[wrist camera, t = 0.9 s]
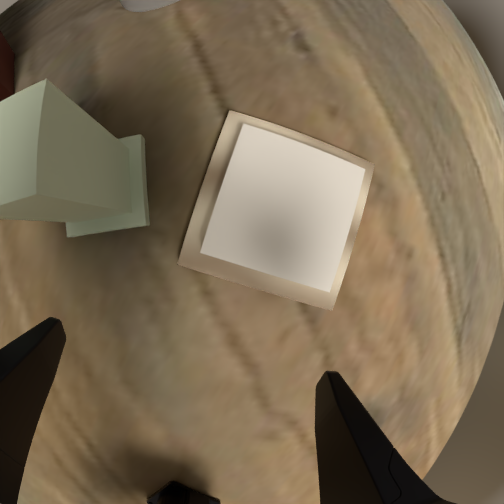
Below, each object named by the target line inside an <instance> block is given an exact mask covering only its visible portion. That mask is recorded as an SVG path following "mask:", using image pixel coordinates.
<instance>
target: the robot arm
mask: <svg viewBox="0 0 504 504" xmlns="http://www.w3.org/2000/svg"><path fill="white" fill-rule="evenodd" d="M65 342H66V334H65V331H64V328H63V325H62V322H61V321H60V320H59V319H56V318H53V317H49V318H47V319H46V320H44V321H43V322H41V323H40V324H38V325H36V326H35V327H33V328H32V329H30V330H29V331H27V332H26V333H24V334H23V335H21V336H20V337H18V338H17V339H15V340H13V341H12V342H10V343H9V344H8V345H6V346H5V347H3V348H2V349H0V504H17V500H18V495H19V490H20V485H21V481H22V477H23V472H24V467H25V464H26V460H27V456H28V453H29V449H30V446H31V443H32V439H33V436H34V433H35V430H36V427H37V424H38V421H39V418H40V415H41V412H42V409H43V406H44V404H45V401H46V398H47V396H48V393H49V391H50V388H51V385H52V383H53V380H54V378H55V375H56V371H57V368H58V365H59V361H60V358H61V355H62V352H63V348H64V345H65ZM315 437H316V449H317V461H318V474H319V489H320V504H456V503H452V502H449V501H446V500H444V499H442V498H440V497H439V496H438V495H436V494H435V493H434V492H433V491H432V490H431V489H430V488H429V487H428V486H427V485H426V484H425V483H424V482H423V481H422V480H421V479H420V477H419V476H418V475H417V474H416V473H415V472H414V471H413V470H412V469H411V468H410V467H409V465H408V464H407V463H406V462H405V460H404V459H403V458H402V457H401V455H400V454H399V453H398V451H397V450H396V449H395V448H393V445H392V444H391V442H390V441H389V440H388V438H387V437H386V436H385V434H384V433H383V432H382V430H381V429H380V427H379V426H378V425H377V423H376V422H375V421H374V419H373V418H372V417H371V415H370V414H369V413H368V411H367V410H366V409H365V407H364V406H363V405H362V403H361V402H360V401H359V399H358V398H357V397H356V395H355V394H354V393H353V391H352V390H351V389H350V387H349V386H348V385H347V383H346V382H345V381H344V379H343V378H342V376H341V375H340V374H339V373H338V372H336V371H326V372H325V373H324V374H323V376H322V377H321V379H320V380H319V382H318V383H317V386H316V399H315ZM147 503H148V504H220V501H218V500H216V499H213V498H211V497H208V496H206V495H203V494H201V493H199V492H196V491H194V490H192V489H190V488H188V487H185V486H183V485H181V484H179V483H177V482H175V481H171V482H169V483H168V484H167V485H165V486H164V487H163V488H162V489H160V490H159V491H158V492H156V493H155V494H154V495H152V496H151V497H149V498H148V499H147Z"/></svg>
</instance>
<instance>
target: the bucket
mask: <svg viewBox="0 0 504 504" xmlns="http://www.w3.org/2000/svg"><path fill="white" fill-rule="evenodd" d="M14 56H15V54H14V52H13V51H12V49H11V47H10V46H9V44H8V43H7V41H6V39H5V38H4V36H3V34H2V33H1V31H0V102H1V101H2V100H4V99H6V98H8V97H10V96H12V95H14Z"/></svg>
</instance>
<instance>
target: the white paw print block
mask: <svg viewBox="0 0 504 504" xmlns="http://www.w3.org/2000/svg"><path fill="white" fill-rule="evenodd" d="M177 1H179V0H120V2H121V4H122V6H123V7H124V8H125V9H127V10H129V11H133V12H144V11H149V10H154V9H157V8H161V7H164V6H167V5H170V4H172V3H175V2H177Z"/></svg>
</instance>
